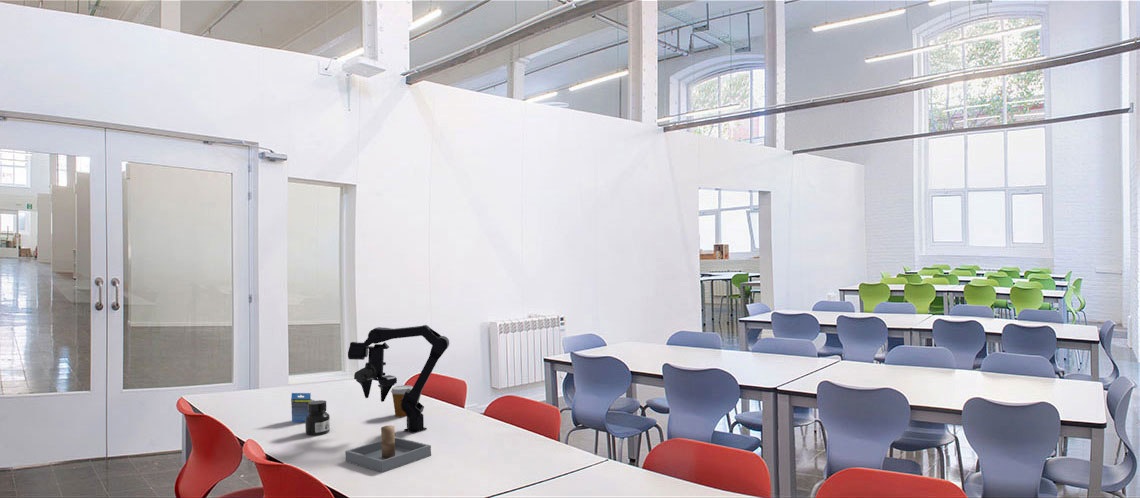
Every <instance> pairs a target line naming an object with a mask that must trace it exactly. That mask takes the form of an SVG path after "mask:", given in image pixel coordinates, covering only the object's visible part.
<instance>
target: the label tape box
mask: <svg viewBox="0 0 1140 498" xmlns="http://www.w3.org/2000/svg"><path fill="white" fill-rule="evenodd" d="M301 396H302V397H301ZM311 396H312V395H311V392H291V396H290V397H291V398H290V401H291V422H292V423H305V418H306V416H307V415H308V414H309V413H308V403H309V402H312V401H316V400H315V399H311Z"/></svg>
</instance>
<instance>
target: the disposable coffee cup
mask: <svg viewBox="0 0 1140 498" xmlns="http://www.w3.org/2000/svg"><path fill="white" fill-rule="evenodd" d="M413 386H414V385H413ZM413 386H412V385H410V384H409V385H406V384H402V385H396V386H395V385H394V386H392V387H391V389H390V392H391V394H392V400H393V402H392V403H393V407H394V413H395V417H397V418H404V417H407V415H406V413H405V412H404V411H403V410H402V408H401V403H402V401H401V399H402V398H403V397H404V394H405V392H406V391H407V389H410V390H412V388H413Z"/></svg>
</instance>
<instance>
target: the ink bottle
mask: <svg viewBox="0 0 1140 498" xmlns="http://www.w3.org/2000/svg"><path fill="white" fill-rule="evenodd" d="M308 413H309V414H308V415H307V416H306V418H305V422H304V424H305V434H306V435H307V436H319V435H325V434H327V433H329V432H330V431H331V428H330V426H331V423H330V421H331V419H330V418H331V417H330V413H328V412H327V401H326V400H320V399H319V400H315V401H312V402H309V403H308Z"/></svg>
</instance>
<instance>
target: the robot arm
mask: <svg viewBox="0 0 1140 498" xmlns="http://www.w3.org/2000/svg"><path fill="white" fill-rule="evenodd" d="M412 337H413V338H414V337H423V338H424V339H425V340H426V342H428V343H429V344H430V345H431V349H430V352H429V355H428V358H427V360H426V361H425V364H424V366H423V367H422V370H421V371H420V373H419V375H418V377H417V379H416V381H415V382H414V385H413V388H412V390H410V389H407V391H406V392H405V394H404V397H403V398H402V399H401V401H402V403H401V408H402V410H403V411H404V412H405V413H406V415H407V416H406V428H404V429H403V431H405V432H407V433H408V432H409V433H412V434H416V433H418V432H422V431H425V430H428V428H427V427H425V426H424V424H425V423H424V414H423V411H424V409H425V406H424V405H423V404H422V403H421V402H420V400H421V396H422V393H423V392H422V391H423V389H424V388H425V385H426V383H427V382H428V380H429V378H430V376H431V374H432V372H433V371H434V368H435V367H436V364H437V363H438V361H439V359H440V358H441V357H442V356H443V355H444V353H445V352H446V350H447V349H448V348H449V346H450V339H448V337H447V336H445V335H441V334H440V333H438V332H437V331H436V330H434V329H433V328H431V327H430V326H429V325H428V324H424V325H417V326H408V327H397V328H392V327H381V326H378V327H374V328H373V329H371V330H370V331H369V332H368V334H367V338H366V339H365V340H364V342H357V341H351V342H350V343H349V347H348V351H347V358H348V360H355V361H357V360H358V361H359V360H360V361H361V360H363V361H364V360H365V359H366V358H367V357H368V358H367V359H368V361H367V362H365V366H364V367H363V368H360V369H359V370H357V371H356V372H354V374H353V377H354V380H356V382H357V383H359V385H360V386H361V388H362V391H363V394H364V395H363V396H364V398H365V399H368V398H369V396H370V392H371V388H372V383H373V381H378V382H377V383H378V385H377V386H378V387H379V389H380V401H381V403H382V402H385V401H386V398H387V396H388V395H389V392H391V390H392V388H393V387H394V386H395V385H396V384H397V383H398V382H397V381H398V380H397V379H398V378H397V377H396V376H395V375H390V374H388V375H386V372H384V366H386V365H387V362H385V361H384V358H385V356H384V355H385V350H388V349H390V346H389V345H388V344H387V341H390V340H394V339H401V338H403V339H404V338H412ZM379 343H380V344H379ZM372 344H374V345H373V346H372Z"/></svg>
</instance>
